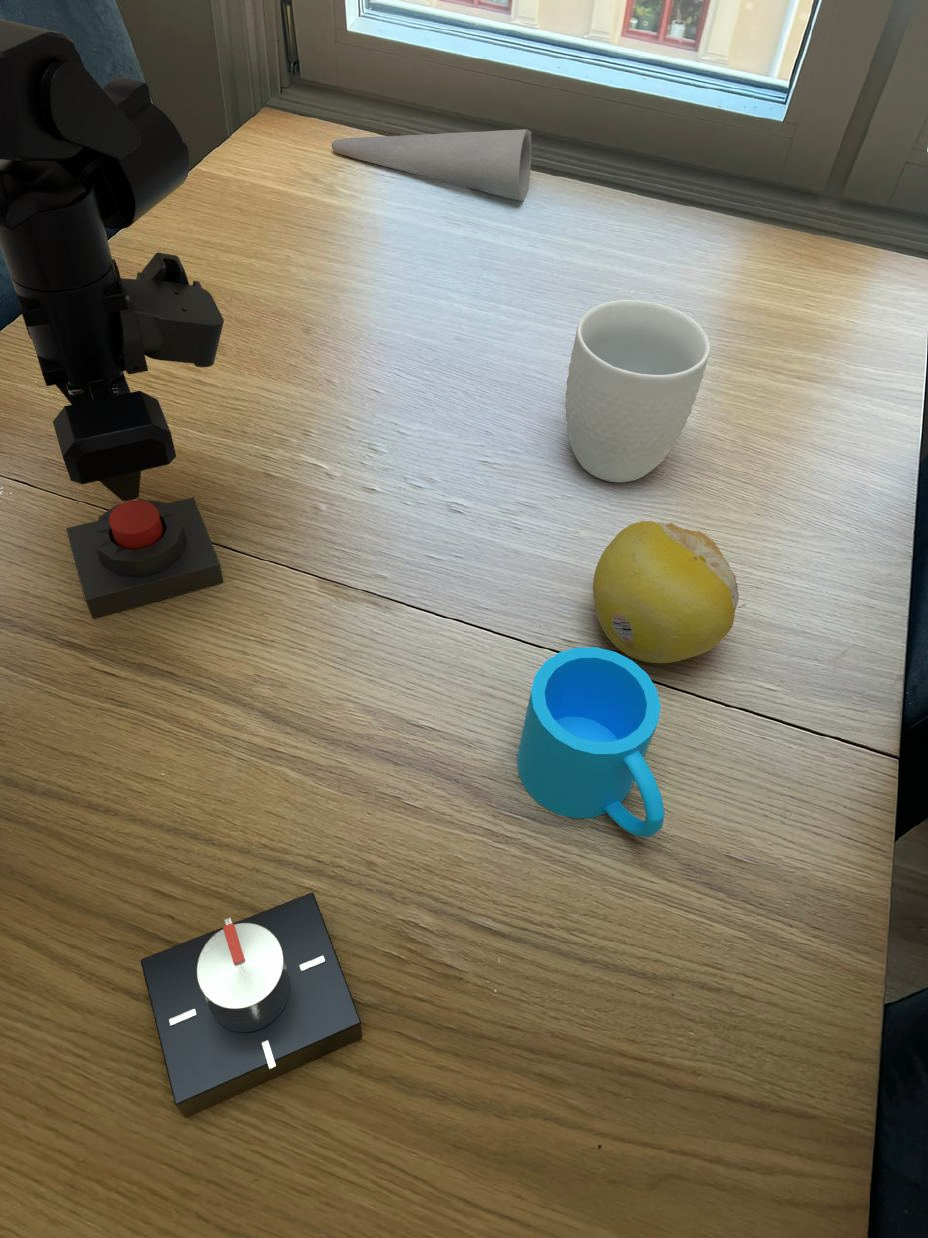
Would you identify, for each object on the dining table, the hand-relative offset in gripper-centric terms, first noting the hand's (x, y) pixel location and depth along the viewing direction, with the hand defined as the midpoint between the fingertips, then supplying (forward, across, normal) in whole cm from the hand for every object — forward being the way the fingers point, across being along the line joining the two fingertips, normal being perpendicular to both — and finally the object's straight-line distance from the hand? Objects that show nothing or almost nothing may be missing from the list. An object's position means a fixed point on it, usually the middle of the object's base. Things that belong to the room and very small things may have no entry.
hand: (120, 468), depth 66 cm
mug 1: (+10, -1, -42) cm, 43 cm away
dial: (+7, -36, +2) cm, 37 cm away
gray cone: (+10, +53, -46) cm, 71 cm away
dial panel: (+10, -36, +2) cm, 37 cm away
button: (+6, 0, 0) cm, 6 cm away
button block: (+10, 0, 0) cm, 10 cm away
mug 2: (+10, -31, -23) cm, 40 cm away
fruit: (+10, -21, -34) cm, 41 cm away
